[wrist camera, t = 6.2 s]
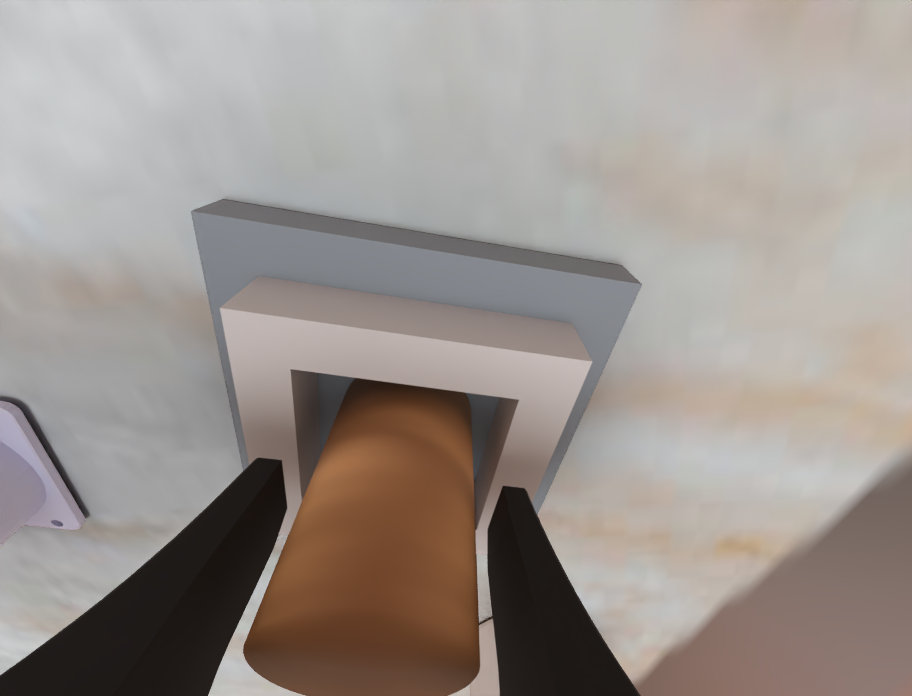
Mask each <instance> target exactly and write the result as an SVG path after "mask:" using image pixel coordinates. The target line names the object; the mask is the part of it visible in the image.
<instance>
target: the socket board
mask: <svg viewBox="0 0 912 696" xmlns="http://www.w3.org/2000/svg"><path fill="white" fill-rule="evenodd" d="M191 214H192V219H193V224H194V229H195V234H196V239H197V244H198V249H199V254H200V258H201V263H202V268H203V273H204V278H205V283H206V288H207V293H208V298H209V303H210V308H211V313H212V318H213V323H214V328H215V333H216V338H217V342H218V347H219V352H220V357H221V362H222V367H223V372H224V377H225V382H226V387H227V392H228V397H229V402H230V407H231V412H232V417H233V422H234V426H235V431H236V436H237V441H238V446H239V451H240V456H241V461H242V466H243V471H244V470H245V469H246V468H247V467H248V466H249V465H250V464H251V463H252V462H253V461H254V460H255V459H256V458H258V457H259V458H268V459H277V460H282V466H283V474H284V483H285V491H286V499H287V511H286V514H285V517H284V520H283V523H282V526H281V529H280V532H279V535H289V532H290V530H291V528H292V525H293V523H294V520H295V518H296V515H297V513H298V510H299V508H300V505H301V503H302V500H303V498H304V495H305V493H306V490H307V488H308V485H309V483H310V480H311V478H312V476H313V473H314V471H315V468H316V466H317V463H318V461H319V458H320V456H321V453H322V451H323V448H324V446H325V443H326V441H327V438H328V436H329V433H330V431H331V428H332V426H333V423H334V421H335V419H336V416H337V414H338V411H339V409H340V406H341V404H342V401H343V399H344V396H345V394H346V391H347V389H348V387H349V386H350V384H351V383H352V382H353V381H354V379H355V378H361V379H368V380H376V381H383V382H391V383H398V384H406V385H413V386H420V387H428V388H435V389H443V390H450V391H458V392H465V393H466V395H467V397H468V399H469V402H470V406H471V422H472V450H473V477H474V505H475V533H476V554H478V555H488V554H487V529H488V526H489V523H490V521H491V518H492V515H493V512H494V509H495V506H496V503H497V501H498V498H499V495H500V492H501V489H502V486H510V487H519V488H525V490H526V491H527V493H528V495H529V497H530V500H531V502H532V505H533V507H534V509H535V511H536V514H537V515H538V512H539V510H540V508H541V506H542V504H543V501H544V499H545V497H546V495H547V493H548V490H549V488H550V486H551V484H552V482H553V479H554V477H555V475H556V473H557V471H558V468H559V466H560V464H561V462H562V460H563V457H564V455H565V453H566V451H567V449H568V446H569V444H570V442H571V440H572V437H573V435H574V433H575V431H576V429H577V426H578V424H579V422H580V420H581V418H582V415H583V413H584V411H585V409H586V407H587V404H588V402H589V400H590V398H591V396H592V393H593V391H594V389H595V387H596V385H597V382H598V380H599V378H600V376H601V374H602V371H603V369H604V367H605V365H606V363H607V360H608V358H609V356H610V354H611V352H612V349H613V347H614V345H615V343H616V341H617V338H618V336H619V334H620V332H621V330H622V327H623V325H624V323H625V321H626V319H627V316H628V314H629V312H630V310H631V308H632V305H633V303H634V301H635V299H636V297H637V294H638V292H639V290H640V288H641V286H642V284H641V283H640V282H639V281H638V280H637V279H636V278H635V277H634V276H633V275H632V274H631V273H629V272H628V271H627V270H626V269H625V268H624V267H623V266H621V265H615V264H609V263H603V262H597V261H591V260H585V259H579V258H573V257H567V256H561V255H555V254H549V253H543V252H537V251H531V250H525V249H519V248H513V247H507V246H501V245H495V244H489V243H483V242H477V241H471V240H465V239H458V238H452V237H446V236H440V235H434V234H428V233H422V232H416V231H410V230H404V229H398V228H392V227H386V226H380V225H374V224H368V223H362V222H356V221H350V220H344V219H338V218H332V217H326V216H320V215H314V214H308V213H302V212H296V211H290V210H284V209H278V208H272V207H266V206H260V205H254V204H248V203H242V202H235V201H229V200H223V199H222V200H219V201H217V202H214V203H211V204H209V205H206V206H203V207H201V208H198V209H195V210H193V211H191Z"/></svg>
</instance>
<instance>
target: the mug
mask: <svg viewBox="0 0 912 696" xmlns="http://www.w3.org/2000/svg"><path fill="white" fill-rule="evenodd" d="M479 645H480V670H479V673H478V675H477V677H476V678H475V679H474V680H473V681H472V682H471V683H470V696H500V689H499V674H498V662H497V653H496V643H495V634H494V625H493V619H490V620H488V621H486V622H484V623H483V624H481V625H479Z"/></svg>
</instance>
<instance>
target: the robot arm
mask: <svg viewBox="0 0 912 696" xmlns="http://www.w3.org/2000/svg"><path fill="white" fill-rule="evenodd" d="M286 511H287V499H286V491H285V483H284V474H283V466H282V460H277V459H268V458H259V457H258V458H256V459H255V460H254V461H253V462H252V463H251V464H250V465H249V466H248V467H247V468H246V469H245V470H244V471H243V472H242V473H241V474H240V475H239V476H238V477H237V478H236V479H235V480H234V481H233V482H232V483H231V484H230V485H229V486H228V487H227V488H226V489H225V490H224V491H223V492H222V493H221V494H220V495H219V496H218V497H217V498H216V499H215V500H214V501H213V502H212V503H211V504H210V505H209V506H208V507H207V508H206V509H205V510H204V511H203V512H201V513H200V514H199V515H198V516H197V517H196V518H195V519H194V520H193V521H192V522H191V523H190V524H189V525H188V526H187V527H186V528H184V529H183V530H182V531H181V532H180V533H179V534H178V535H177V536H176V537H175V538H174V539H173V540H171V541H170V542H169V543H168V544H167V545H166V546H165V547H163V548H162V549H161V550H160V551H159V552H158V553H157V554H155V555H154V556H153V557H152V558H151V559H150V560H149V561H147V562H146V563H145V564H144V565H143V566H142V567H140V568H139V569H138V570H137V571H136V572H135V573H134V574H132V575H131V576H130V577H129V578H128V579H126V580H125V581H124V582H123V583H121V584H120V585H119V586H118V587H117V588H115V589H114V590H113V591H112V592H110V593H109V594H108V595H107V596H106V597H104V598H103V599H102V600H101V601H99V602H98V603H97V604H95V605H94V606H93V607H92V608H90V609H89V610H88V611H87V612H85V613H84V614H83V615H81V616H80V617H79V618H78V619H76V620H75V621H74V622H72V623H71V624H70V625H68V626H67V627H66V628H64V629H63V630H62V631H60V632H59V633H58V634H56V635H55V636H54V637H52V638H51V639H50V640H48V641H47V642H46V643H44V644H43V645H42V646H40V647H39V648H37V649H36V650H35V651H33V652H32V653H31V654H29V655H28V656H27V657H25V658H24V659H23V660H21V661H20V662H18V663H17V664H16V665H14V666H13V667H11V668H10V669H9V670H7V671H6V672H4V673H3V674H2V675H0V696H208V694H209V691H210V689H211V686H212V683H213V681H214V678H215V675H216V673H217V670H218V668H219V665H220V663H221V661H222V658H223V656H224V654H225V651H226V649H227V647H228V644H229V642H230V640H231V638H232V636H233V634H234V632H235V629H236V627H237V625H238V623H239V621H240V619H241V617H242V615H243V612H244V610H245V608H246V606H247V604H248V602H249V600H250V598H251V595H252V593H253V591H254V589H255V587H256V585H257V583H258V581H259V578H260V576H261V574H262V572H263V570H264V568H265V566H266V563H267V561H268V559H269V557H270V555H271V553H272V550H273V548H274V546H275V543H276V540H277V537H278V534H279V532H280V529H281V526H282V523H283V520H284V517H285V514H286ZM85 521H86V520H85V517H84V515H83V514H82V512H81V510H80V509H79V507H78V505H77V503H76V502H75V500H74V498H73V497H72V495H71V493H70V492H69V490H68V488H67V487H66V485H65V483H64V482H63V480H62V478H61V476H60V475H59V473H58V471H57V470H56V468H55V466H54V465H53V463H52V461H51V460H50V458H49V456H48V455H47V453H46V451H45V449H44V448H43V446H42V444H41V443H40V441H39V439H38V438H37V436H36V434H35V433H34V431H33V429H32V427H31V426H30V424H29V422H28V421H27V419H26V417H25V416H24V414H23V412H22V411H21V410H20V409H19V408H18V407H17V406H15V405H14V404H11V403H9V402H5V401H0V546H1V545H2V544H3V543H5V542H6V541H7V540H8V539H9V538H10V537H11V536H12V535H13V534H14V533H15V532H16V531H17V530H18V529H19V528H20V527H21V526H22V525H27V526H38V527H48V528H58V529H68V530H76V529H79V528H80V527H81V526H82V525H83V524H84V523H85ZM487 554H488V577H489V587H490V597H491V606H492V615H493V625H494V634H495V643H496V653H497V662H498V674H499V689H500V696H640V694H639V693H638V691H637V690H636V688H635V687H634V685H633V684H632V682H631V681H630V679H629V678H628V676H627V675H626V673H625V672H624V670H623V669H622V667H621V666H620V664H619V663H618V661H617V660H616V658H615V657H614V655H613V654H612V652H611V650H610V649H609V647H608V646H607V644H606V643H605V641H604V639H603V638H602V636H601V635H600V633H599V631H598V630H597V628H596V626H595V625H594V623H593V621H592V620H591V618H590V616H589V615H588V613H587V611H586V609H585V608H584V606H583V604H582V602H581V601H580V599H579V597H578V595H577V594H576V592H575V590H574V588H573V586H572V584H571V583H570V581H569V579H568V577H567V575H566V573H565V571H564V569H563V567H562V565H561V564H560V562H559V560H558V558H557V556H556V554H555V552H554V550H553V548H552V546H551V544H550V542H549V540H548V538H547V535H546V533H545V531H544V529H543V527H542V525H541V523H540V520H539V518H538V516H537V514H536V511H535V509H534V507H533V505H532V502H531V500H530V497H529V495H528V493H527V491H526V490H525V488H519V487H510V486H502V489H501V492H500V495H499V498H498V501H497V503H496V506H495V509H494V512H493V515H492V518H491V521H490V523H489V526H488V529H487Z"/></svg>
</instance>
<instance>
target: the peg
mask: <svg viewBox="0 0 912 696" xmlns="http://www.w3.org/2000/svg"><path fill="white" fill-rule="evenodd" d="M243 653H244V656H245V659H246V661H247V663H248V664H249V665H250V667H251V668H252V669H253V670H254V671H255V672H257V673H258V674H259V675H260V676H262V677H263V678H265V679H267V680H268V681H270V682H272V683H274V684H276V685H278V686H280V687H283V688H285V689H288V690H290V691H293V692H296V693H299V694H302V695H306V696H448V695H450V694H453V693H455V692H457V691H459V690H461V689H463V688H465V687H466V686H467V685H469V684H470V683H471V682H472V681H473V680H474V679H475V678H476V677H477V675H478V673H479V670H480V645H479V617H478V589H477V561H476V533H475V505H474V477H473V450H472V422H471V406H470V402H469V399H468V397H467V395H466V393H465V392H458V391H450V390H443V389H435V388H428V387H420V386H413V385H406V384H398V383H391V382H383V381H376V380H368V379H361V378H355V379H354V381H353V382H352V383H351V384H350V386H349V387H348V389H347V391H346V394H345V396H344V399H343V401H342V404H341V406H340V409H339V411H338V414H337V416H336V419H335V421H334V423H333V426H332V428H331V431H330V433H329V436H328V438H327V441H326V443H325V446H324V448H323V451H322V453H321V456H320V458H319V461H318V463H317V466H316V468H315V471H314V473H313V476H312V478H311V480H310V483H309V485H308V488H307V490H306V493H305V495H304V498H303V500H302V503H301V505H300V508H299V510H298V513H297V515H296V518H295V520H294V523H293V525H292V528H291V530H290V532H289V535H288V537H287V540H286V542H285V545H284V547H283V550H282V552H281V555H280V557H279V560H278V562H277V565H276V567H275V570H274V572H273V575H272V577H271V580H270V582H269V584H268V587H267V589H266V592H265V594H264V597H263V599H262V602H261V604H260V607H259V609H258V612H257V614H256V617H255V619H254V622H253V624H252V627H251V629H250V632H249V634H248V636H247V639H246V641H245V644H244V649H243Z"/></svg>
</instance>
